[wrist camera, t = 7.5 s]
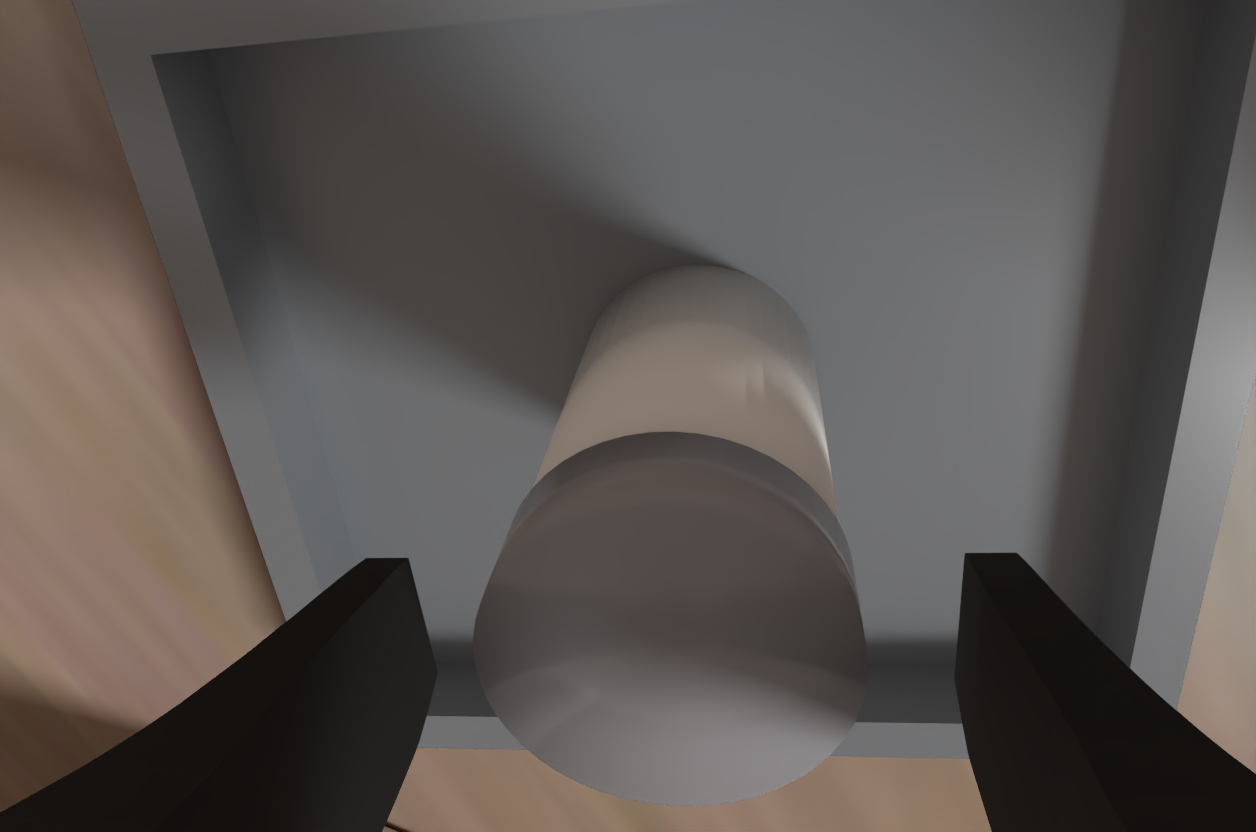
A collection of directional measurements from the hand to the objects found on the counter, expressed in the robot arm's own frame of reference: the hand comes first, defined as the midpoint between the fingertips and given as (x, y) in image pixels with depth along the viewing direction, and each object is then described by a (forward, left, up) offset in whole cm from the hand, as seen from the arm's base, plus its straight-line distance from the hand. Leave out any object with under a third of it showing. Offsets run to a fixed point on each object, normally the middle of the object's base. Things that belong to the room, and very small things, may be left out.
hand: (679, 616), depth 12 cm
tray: (0, 0, -8) cm, 8 cm away
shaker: (0, 0, -7) cm, 7 cm away
